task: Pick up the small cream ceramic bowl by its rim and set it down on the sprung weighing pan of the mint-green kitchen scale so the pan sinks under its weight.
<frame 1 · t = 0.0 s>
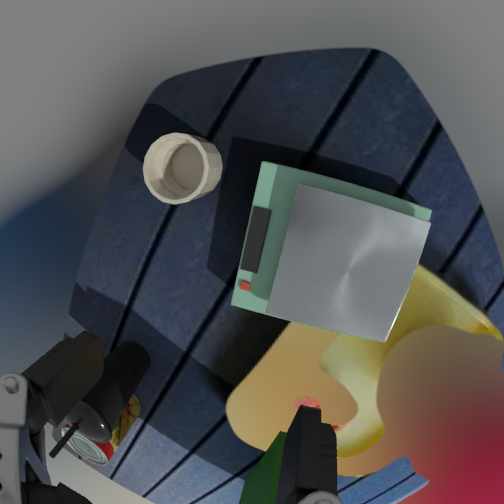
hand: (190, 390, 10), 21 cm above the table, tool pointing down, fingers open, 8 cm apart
canned food: (120, 398, 42), on the table
hardback book: (281, 464, 41), on the table
scale: (328, 250, 30), on the table
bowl: (194, 167, 30), on the table
drinking cup: (135, 355, 39), on the table
scale pan: (348, 268, 26), point 4 cm above the table, slide at 0.0 cm
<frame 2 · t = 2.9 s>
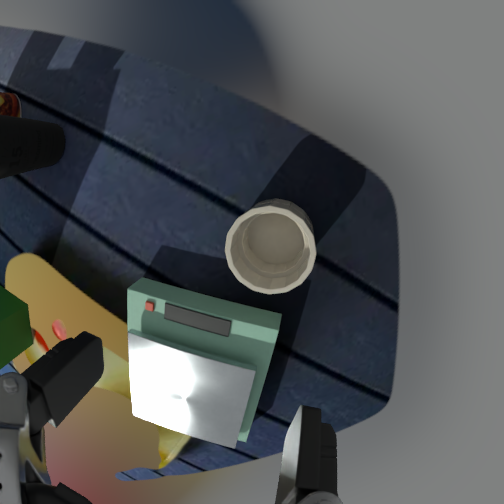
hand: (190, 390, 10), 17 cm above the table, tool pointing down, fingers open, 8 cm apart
canned food: (7, 121, 27), on the table
scale: (199, 360, 31), on the table
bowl: (276, 235, 26), on the table
drinking cup: (52, 144, 27), on the table
scale pan: (185, 396, 27), point 4 cm above the table, slide at 0.0 cm
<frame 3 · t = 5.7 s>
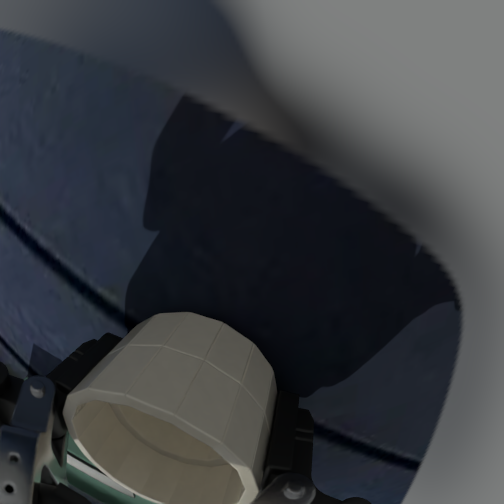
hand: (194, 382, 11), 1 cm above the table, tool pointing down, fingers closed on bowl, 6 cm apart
scale: (121, 480, 17), on the table
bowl: (200, 373, 12), on the table, touching gripper
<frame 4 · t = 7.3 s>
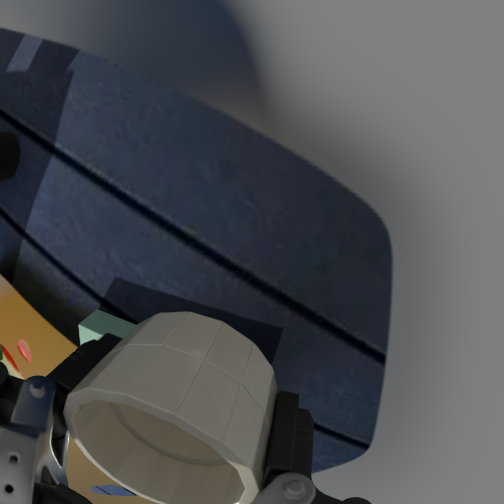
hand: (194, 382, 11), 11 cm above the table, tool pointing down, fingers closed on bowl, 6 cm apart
scale: (162, 399, 26), on the table
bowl: (201, 372, 12), point 10 cm above the table, touching gripper
drinking cup: (8, 155, 22), on the table
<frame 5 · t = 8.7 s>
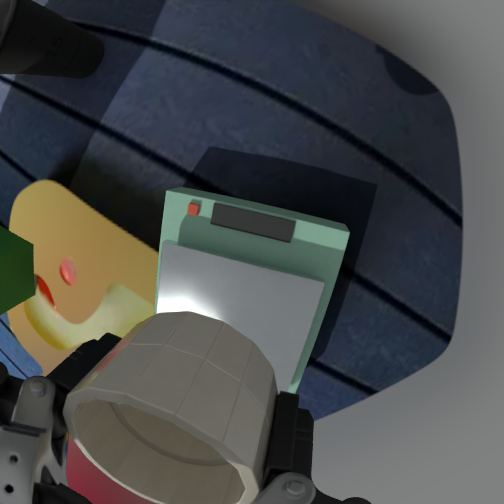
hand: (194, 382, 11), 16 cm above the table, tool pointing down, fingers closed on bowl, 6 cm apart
hardback book: (0, 248, 33), on the table
scale: (242, 292, 27), on the table
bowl: (201, 372, 12), point 15 cm above the table, touching gripper
drinking cup: (87, 58, 23), on the table
scale pan: (227, 330, 24), point 4 cm above the table, slide at 0.0 cm
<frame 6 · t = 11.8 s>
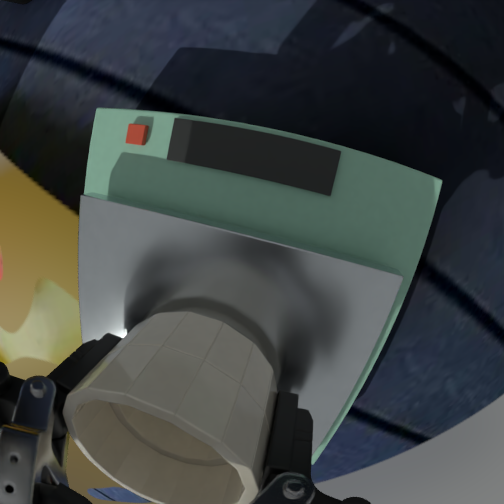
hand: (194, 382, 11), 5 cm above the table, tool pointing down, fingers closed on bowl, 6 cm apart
scale: (231, 297, 15), on the table
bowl: (200, 372, 12), point 4 cm above the table, touching gripper, scale pan
scale pan: (203, 367, 12), point 4 cm above the table, slide at -0.3 cm, touching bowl
when the fingers open (5 cm above the table, at t = 12.1 s): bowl stays where it is, resting on scale pan.
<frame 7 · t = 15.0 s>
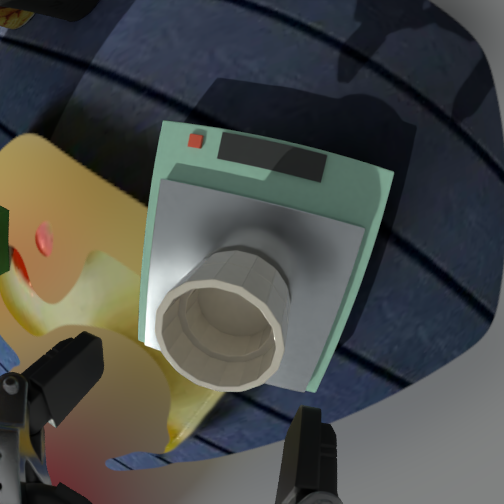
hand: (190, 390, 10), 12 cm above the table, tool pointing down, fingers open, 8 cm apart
canned food: (29, 1, 18), on the table
scale: (253, 256, 22), on the table
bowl: (238, 297, 18), point 4 cm above the table, touching scale pan
drinking cup: (83, 2, 18), on the table
scale pan: (239, 295, 19), point 3 cm above the table, slide at -0.9 cm, touching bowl
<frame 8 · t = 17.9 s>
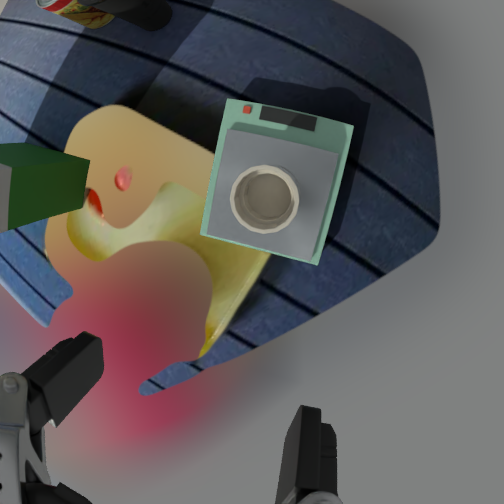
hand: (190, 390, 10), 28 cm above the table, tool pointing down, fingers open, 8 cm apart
canned food: (104, 8, 31), on the table
hardback book: (50, 172, 41), on the table
scale: (276, 179, 35), on the table
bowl: (270, 194, 32), point 4 cm above the table, touching scale pan
drinking cup: (157, 17, 31), on the table
scale pan: (270, 194, 32), point 3 cm above the table, slide at -0.9 cm, touching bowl
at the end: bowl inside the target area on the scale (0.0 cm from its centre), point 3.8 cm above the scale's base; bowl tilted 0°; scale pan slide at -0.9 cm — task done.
